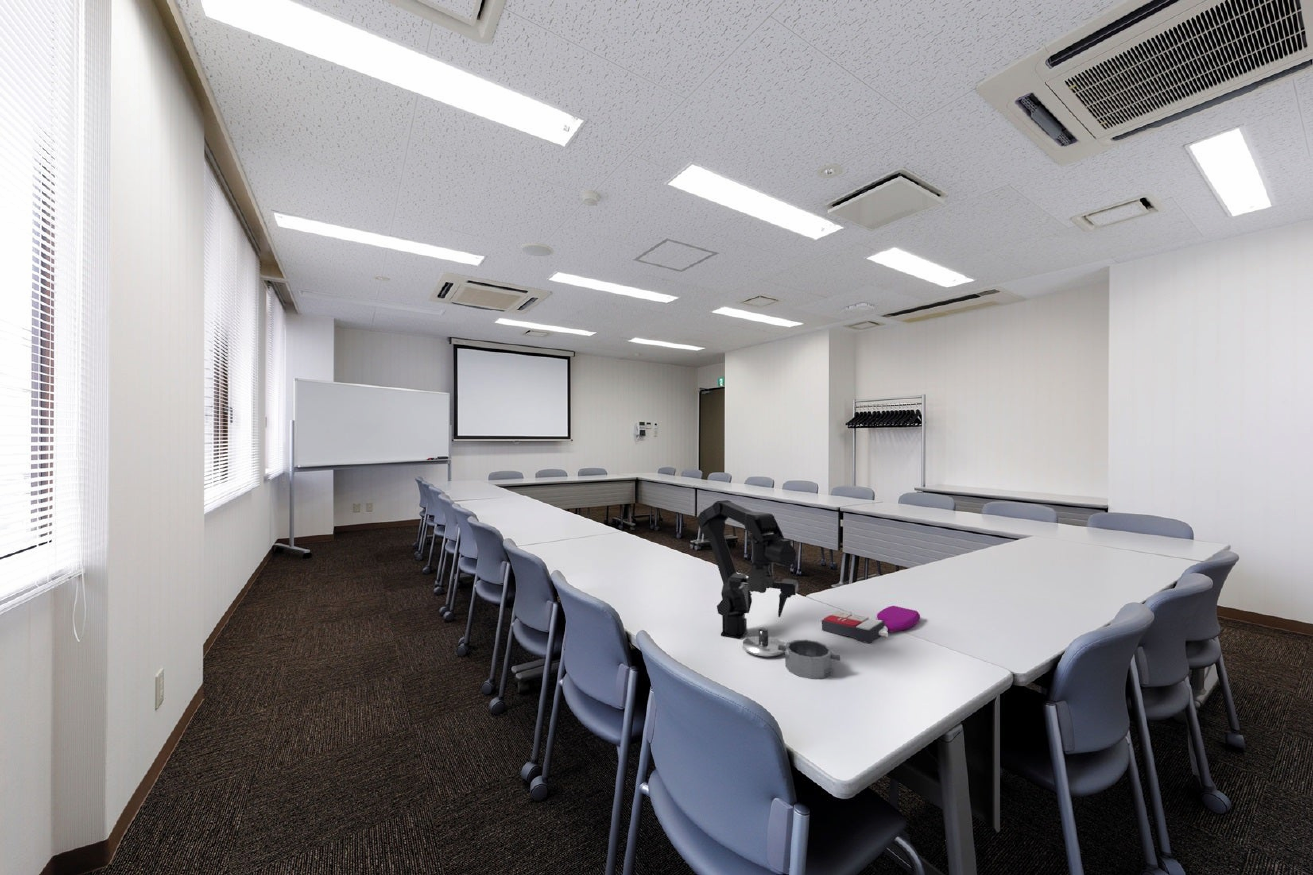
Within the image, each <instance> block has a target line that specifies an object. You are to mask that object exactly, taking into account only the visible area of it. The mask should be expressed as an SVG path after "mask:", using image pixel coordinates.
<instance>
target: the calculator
mask: <svg viewBox="0 0 1313 875" xmlns="http://www.w3.org/2000/svg"><path fill="white" fill-rule="evenodd" d="M884 626H885V623H884V622H883V621H882V620H878V619H875V618H871V617H870V618H869V617H868V616H865V615H859V614H855V613H854V614H853V613H850V612H849V613H848V612H844V611H839V610H838V611H836V612H833V613H831V614H830V615H828V616H826V617H824V618H823V619H822V620H821V630H822V631H825V632H829V633H833V634H838V635H841V636H842V635H843V636H846V637H851V638H854V639H856V640H857V641H859V642H862V643H863V642H864V643H867V644H871V643H873V642H875V641H877V640H878V639H879V638H881V637H882V636H881V635H879V631H880V630H881V629H883V627H884Z"/></svg>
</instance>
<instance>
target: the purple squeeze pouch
mask: <svg viewBox="0 0 1313 875" xmlns="http://www.w3.org/2000/svg"><path fill="white" fill-rule="evenodd" d="M876 618H877V620H882V621H883V622H884V623H885V626H884V627H883V629H881V630H880V631H879V635H881V637H886V638H888V637H889V633H892V632H898V631H906V630H909V629H911V628H912V627H915V625H916V624H918V622H919V621H920V620H921V614H920V613H919V612H918V611H917V610H915V609H909V608H905V607H901V606H896V605H891V606H887V607H885V608H883V609H882V610H880V611H879V612H878V613H877V614H876Z"/></svg>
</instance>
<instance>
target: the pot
mask: <svg viewBox="0 0 1313 875" xmlns="http://www.w3.org/2000/svg"><path fill="white" fill-rule="evenodd" d="M778 650H781V651H784V656H785V660H784V661H785V662H784V663H785V668H786V669H787V670H788V672H789V673H791V674H793V675H795V676H797V677H800V678H805V679H810V680H817V679H818V680H819V679H826V678H827V677H829V676H831V675H832V673H833V660H835V661H840V660H841V655H840V654H835V653H833V650H832V649H831V648H830V646H828V645H827V644H825V643H822V642H820V641H817V640H816V641H815V640H811V639H794V640H791V641H788V642H786V645H785V646H783V645H779V646H778Z"/></svg>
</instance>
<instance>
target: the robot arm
mask: <svg viewBox="0 0 1313 875" xmlns="http://www.w3.org/2000/svg"><path fill="white" fill-rule="evenodd" d="M728 519H732V520H733V521H735V522H737V523H739V524H741V525H743V526H744V529H745V530H746V531H747V532H748V533H750V535H749V536H748V537H746V540H747V541H749V542H751V566H750V568H751V569H750V571H749V574H748V576H747V574H745V573H738V572H737V570H736V567H735V564H734V560H733V557H732V556H731V555H732V554H731V553H730V548H729V546H728V543H727V540H726V537H725V530H726V527H727V526H726V525H727V524H726V521H727V520H728ZM696 521H697V525H698V526H699V529H700V532H701V533H702V534H703V535H704V536H705V537H706V538H707V539H708V540H709V544H710V546H711V550H712V552H713V555H714V558H715V562H716V564H717V569H718V571H719V574H720V578H721V580H722V587H721V588H722V589H721V593H720V594H721V600H720V602H719V603H718V604H717V605H716V609H717V614H719V615H721V618H722V619H721V620H722V623H721V624H722V627H721V628H722V631H721V632H720V635H721V636H723V637H730V638H734V639H735V638H736V639H742V638H743V637H744V636H745V635H746V634H747V632H748V626H747V624H748V623H747V622H748V621H747V620H748V619H747V618H746V614H749V613H750V610H751V608H752V603H753V598H752V593H753V592H756V593H757V592H758V593H760V594H764V593H766V592H767V589H775V590H779V591H780V593H779V594H778V597H779V599H778V600H779V601H778V611H777V612H778V613H777V615H778V618H781V616H782V613H783V610H784V607H785V604H786V602H787V599H788V598H789V599H790V598H791V597H792V596H796V594H797V592H798V591H799V582H798V581H797V579H792V578H791V579H790V578H789V579H788V578H783V579H782V580H781V581H775V576H774V564H776V565H780V566H783V567H788V568H789V567H791V566H792V565H793V564H795V561H796V560H797V551H796V549H795V548H794V546H793V545H791V540H789V539H785V537H784V535H783V531H782V530H781V529H780V526H779V524H778V522H777V520H776V519H775V515H773V514H772V513H770V512H765V511H763V512H761V511H752V510H750V509H748V508H745V507H744V506H740V505H738V504H736V503H733V502H732V501H730V500H728V499H726V500H725V499H723V500H717V501H715V502H714V503H713V504H712V505H710V506H709V507H707V508H705V509H704V510H702V511H701V512H700V513H699V515H698V516H697V520H696Z"/></svg>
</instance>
